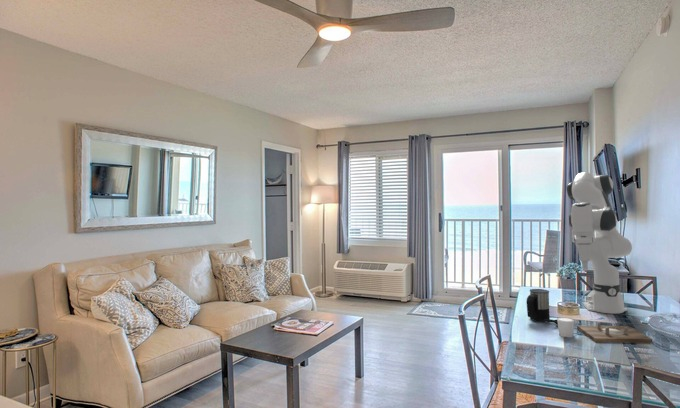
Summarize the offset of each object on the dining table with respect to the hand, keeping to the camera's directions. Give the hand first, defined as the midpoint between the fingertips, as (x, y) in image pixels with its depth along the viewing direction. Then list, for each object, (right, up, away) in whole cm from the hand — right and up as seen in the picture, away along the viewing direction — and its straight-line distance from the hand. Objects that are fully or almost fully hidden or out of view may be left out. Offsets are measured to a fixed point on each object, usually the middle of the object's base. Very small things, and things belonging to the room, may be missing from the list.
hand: (584, 269), depth 186 cm
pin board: (+10, -28, -4) cm, 30 cm away
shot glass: (-9, -29, -2) cm, 31 cm away
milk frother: (-8, -29, +19) cm, 35 cm away
